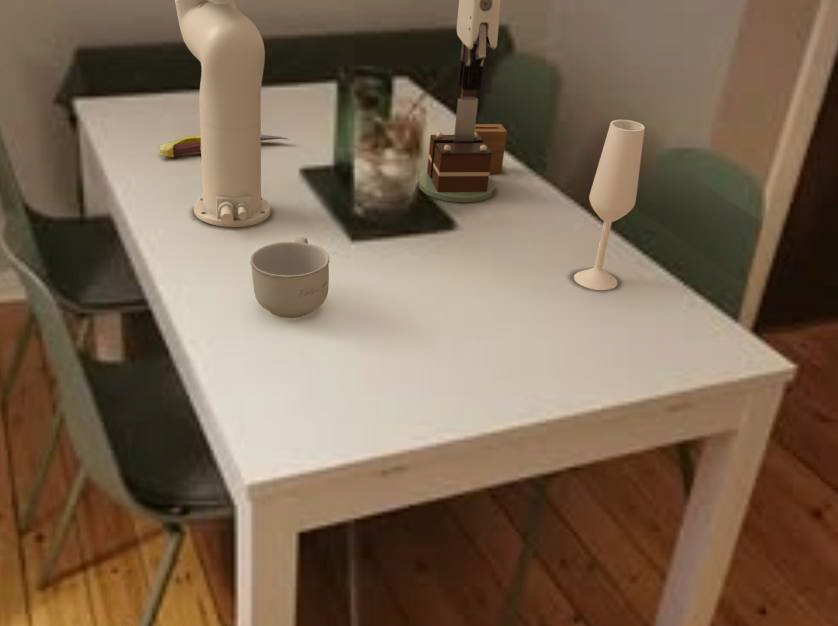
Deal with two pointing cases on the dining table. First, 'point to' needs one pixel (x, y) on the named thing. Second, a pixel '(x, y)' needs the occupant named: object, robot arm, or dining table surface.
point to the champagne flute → (613, 191)
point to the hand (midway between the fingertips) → (469, 86)
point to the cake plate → (429, 189)
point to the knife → (193, 145)
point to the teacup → (290, 277)
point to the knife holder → (493, 143)
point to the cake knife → (466, 114)
